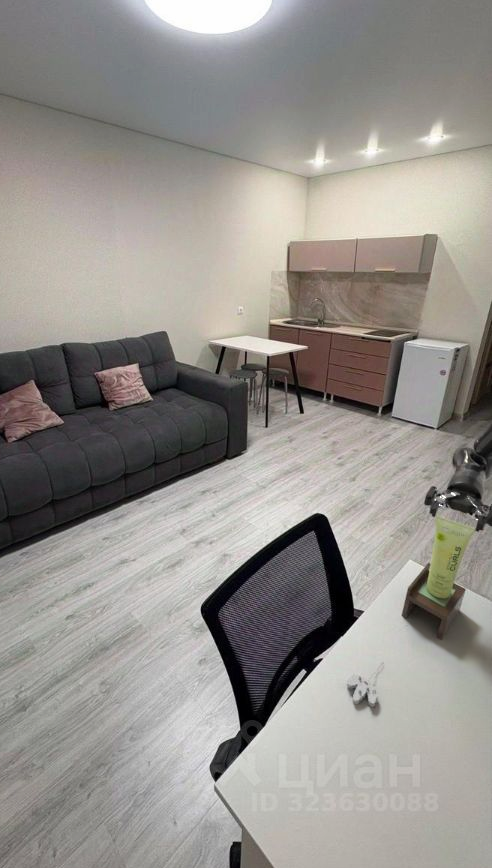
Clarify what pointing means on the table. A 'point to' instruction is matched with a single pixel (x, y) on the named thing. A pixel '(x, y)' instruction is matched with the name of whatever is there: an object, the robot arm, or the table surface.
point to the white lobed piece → (362, 689)
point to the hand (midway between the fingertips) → (455, 520)
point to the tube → (447, 555)
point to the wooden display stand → (433, 601)
